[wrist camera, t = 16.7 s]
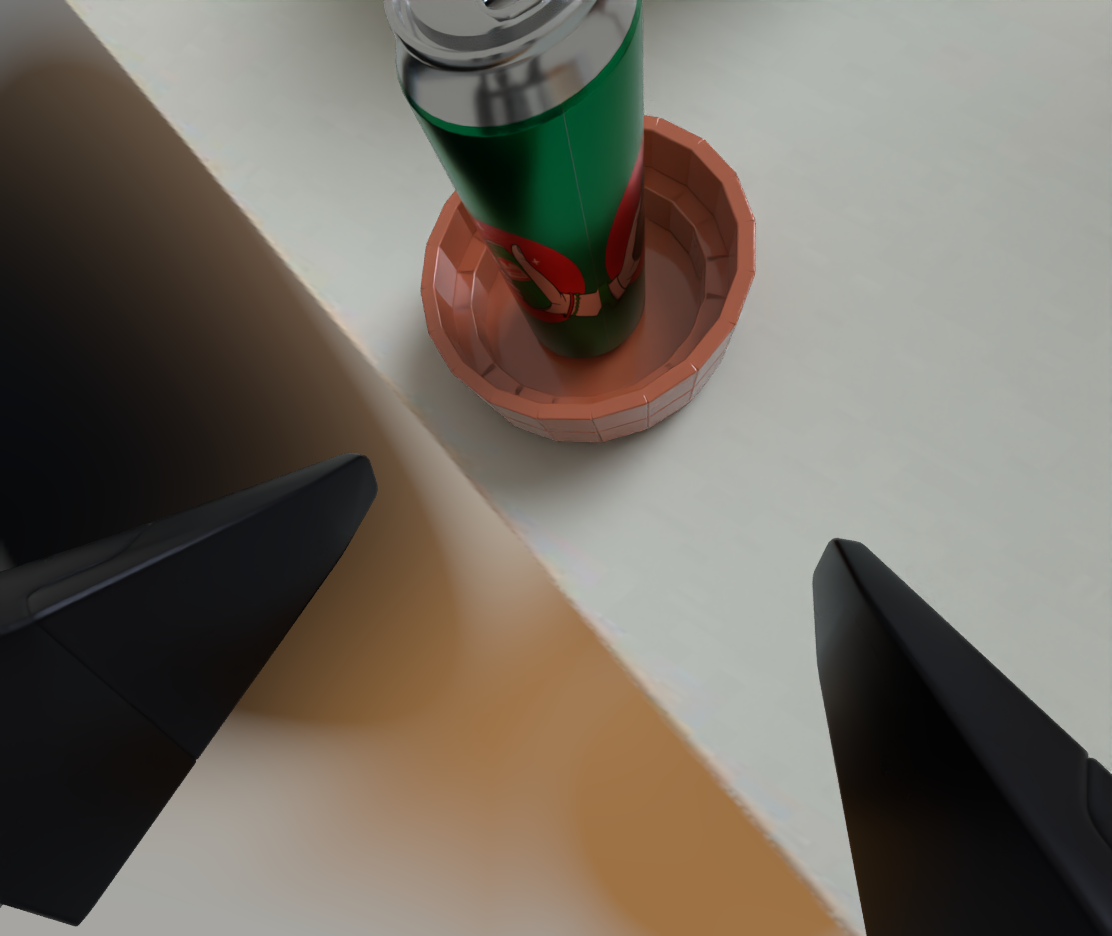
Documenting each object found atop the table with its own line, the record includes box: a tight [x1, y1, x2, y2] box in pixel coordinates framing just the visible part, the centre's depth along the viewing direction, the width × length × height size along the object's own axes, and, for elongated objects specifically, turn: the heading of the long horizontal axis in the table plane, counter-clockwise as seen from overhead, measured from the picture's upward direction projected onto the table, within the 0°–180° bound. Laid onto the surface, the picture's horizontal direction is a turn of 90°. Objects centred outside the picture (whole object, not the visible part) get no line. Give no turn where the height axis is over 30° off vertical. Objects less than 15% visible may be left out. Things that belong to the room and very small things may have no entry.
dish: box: [421, 115, 756, 442], centre depth 18 cm, size 12×12×4 cm
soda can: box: [383, 0, 646, 358], centre depth 13 cm, size 5×5×12 cm
